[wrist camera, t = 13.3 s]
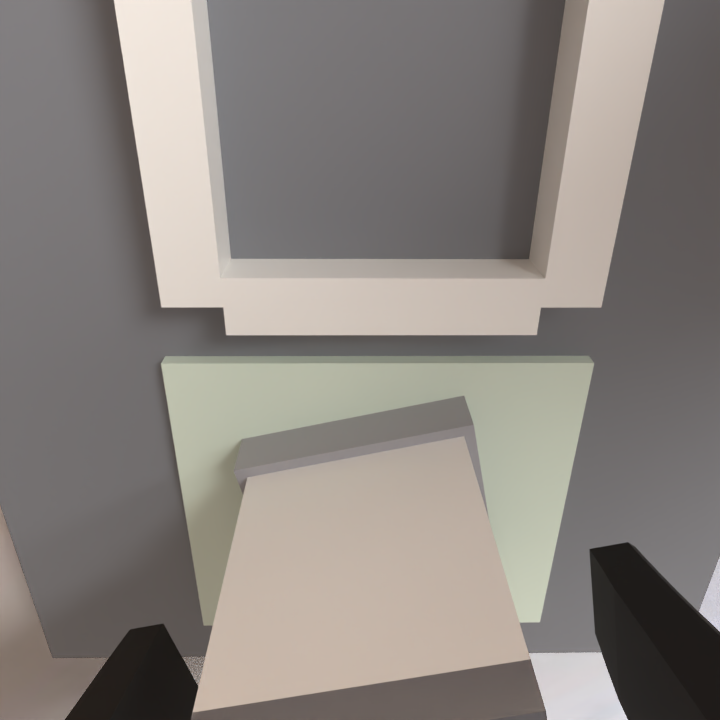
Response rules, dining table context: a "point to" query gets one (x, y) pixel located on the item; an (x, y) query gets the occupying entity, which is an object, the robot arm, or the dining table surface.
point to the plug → (366, 580)
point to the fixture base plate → (354, 280)
